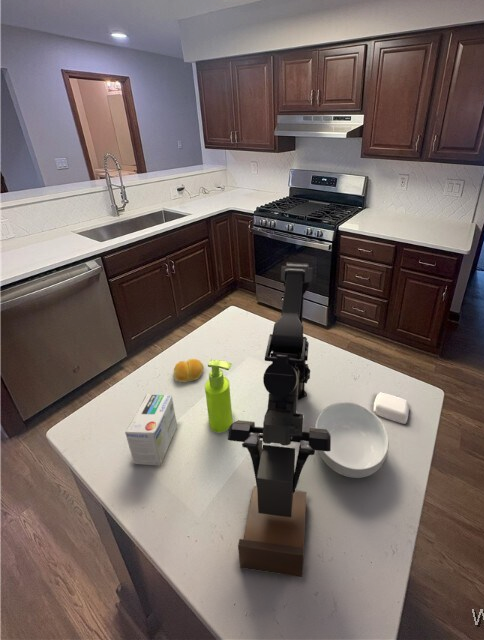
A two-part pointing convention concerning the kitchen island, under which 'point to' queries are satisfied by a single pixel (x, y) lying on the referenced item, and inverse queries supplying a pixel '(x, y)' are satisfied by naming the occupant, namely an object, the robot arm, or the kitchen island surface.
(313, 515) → the kitchen island surface
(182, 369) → the bread roll
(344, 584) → the kitchen island surface
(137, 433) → the light bulb box
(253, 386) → the kitchen island surface
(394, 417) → the soap
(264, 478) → the dark grey upright block
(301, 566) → the brown shallow tray
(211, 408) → the soap dispenser
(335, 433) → the cereal bowl
